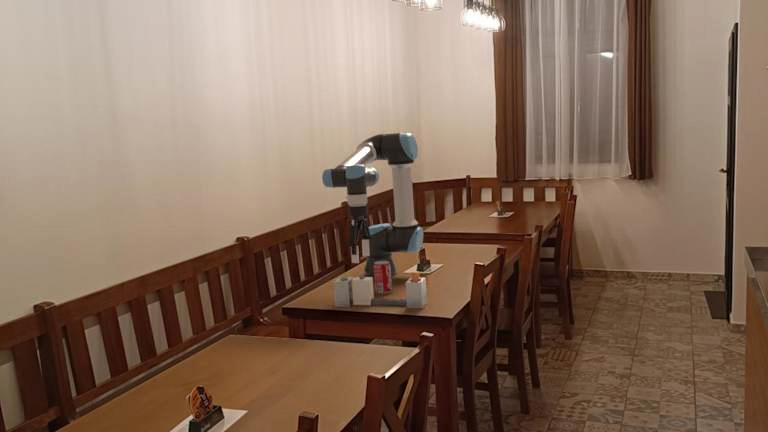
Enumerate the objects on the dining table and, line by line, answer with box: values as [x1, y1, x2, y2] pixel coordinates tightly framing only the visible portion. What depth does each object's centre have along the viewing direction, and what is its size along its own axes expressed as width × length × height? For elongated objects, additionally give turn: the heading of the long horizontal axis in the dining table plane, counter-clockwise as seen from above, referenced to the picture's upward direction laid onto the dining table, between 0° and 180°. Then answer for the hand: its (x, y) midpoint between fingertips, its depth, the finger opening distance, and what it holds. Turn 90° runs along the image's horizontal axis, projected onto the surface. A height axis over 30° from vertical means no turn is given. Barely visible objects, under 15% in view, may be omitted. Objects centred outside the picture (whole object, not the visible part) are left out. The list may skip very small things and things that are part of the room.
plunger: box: [411, 270, 421, 281], centre depth 266 cm, size 3×3×6 cm
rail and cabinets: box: [332, 276, 428, 309], centre depth 271 cm, size 8×35×11 cm, turn 74°
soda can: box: [373, 261, 393, 295], centre depth 289 cm, size 7×7×13 cm
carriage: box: [352, 275, 375, 306], centre depth 273 cm, size 5×7×11 cm
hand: (360, 259), depth 271 cm, fingers open, 13 cm apart
